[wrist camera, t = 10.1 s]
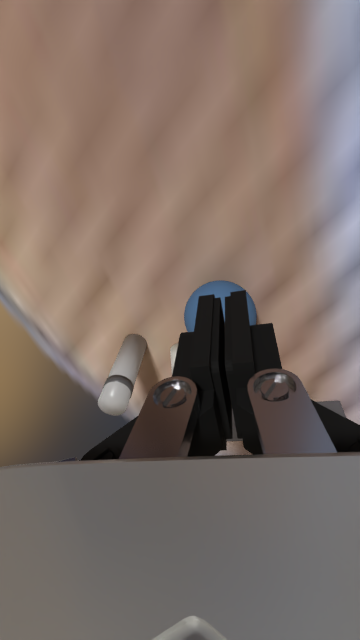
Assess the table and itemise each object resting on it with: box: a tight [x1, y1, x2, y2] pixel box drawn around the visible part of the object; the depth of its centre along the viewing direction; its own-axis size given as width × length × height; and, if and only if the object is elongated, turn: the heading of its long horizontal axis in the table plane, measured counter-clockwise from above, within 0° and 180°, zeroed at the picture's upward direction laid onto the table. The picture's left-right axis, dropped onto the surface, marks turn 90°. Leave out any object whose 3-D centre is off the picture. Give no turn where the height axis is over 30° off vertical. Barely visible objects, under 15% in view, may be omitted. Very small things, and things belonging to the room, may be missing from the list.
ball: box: [184, 281, 256, 332], centre depth 29 cm, size 6×6×6 cm
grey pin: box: [98, 334, 147, 415], centre depth 31 cm, size 2×2×8 cm
